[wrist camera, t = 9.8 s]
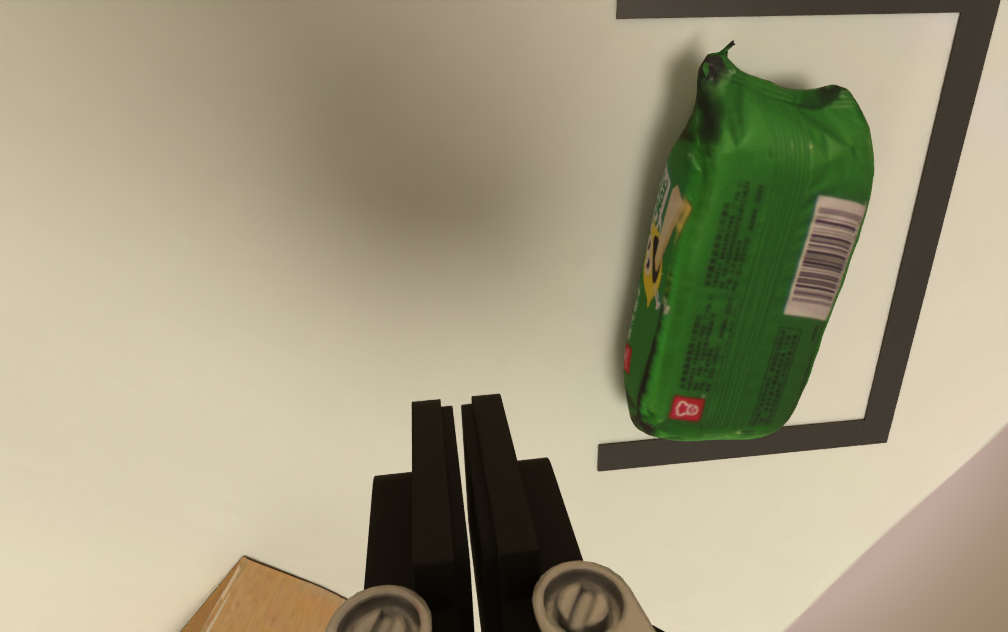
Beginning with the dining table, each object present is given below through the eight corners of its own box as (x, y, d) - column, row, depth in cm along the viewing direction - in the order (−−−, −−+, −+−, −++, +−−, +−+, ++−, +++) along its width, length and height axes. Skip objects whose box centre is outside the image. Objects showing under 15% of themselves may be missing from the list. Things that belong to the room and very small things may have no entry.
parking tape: (618, -29, 22) (619, -29, 22) (1006, -33, 23) (1009, -33, 23) (597, 470, 30) (597, 471, 30) (885, 441, 32) (886, 442, 32)
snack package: (836, 74, 24) (938, 76, 19) (735, 417, 30) (795, 484, 25) (666, 50, 23) (730, 45, 18) (595, 410, 29) (629, 479, 24)
